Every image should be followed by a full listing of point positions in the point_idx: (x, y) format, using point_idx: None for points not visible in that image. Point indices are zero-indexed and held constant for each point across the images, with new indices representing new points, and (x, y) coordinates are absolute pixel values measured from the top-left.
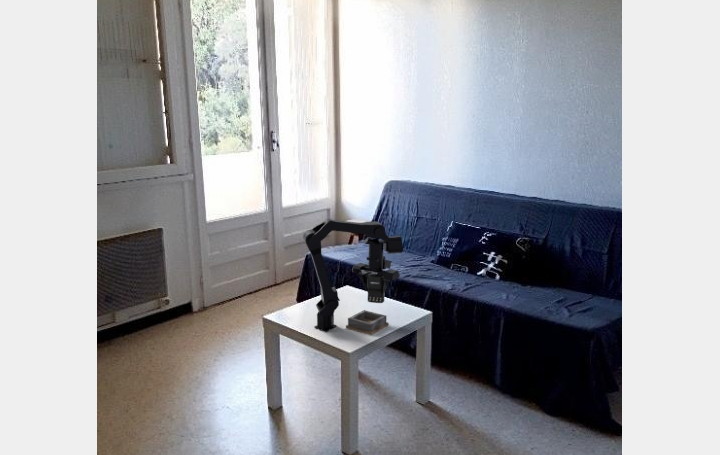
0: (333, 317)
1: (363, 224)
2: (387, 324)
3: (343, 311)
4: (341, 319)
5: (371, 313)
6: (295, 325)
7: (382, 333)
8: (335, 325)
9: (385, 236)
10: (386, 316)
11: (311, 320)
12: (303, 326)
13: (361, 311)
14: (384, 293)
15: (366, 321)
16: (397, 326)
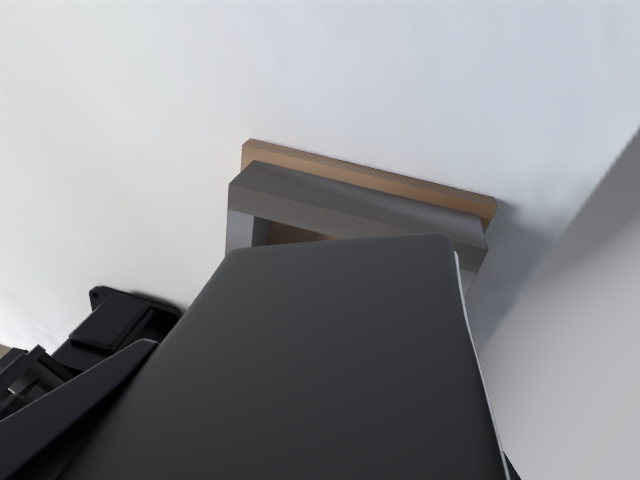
0: (127, 335)
1: None
2: (488, 216)
3: (29, 51)
4: (130, 207)
5: (327, 233)
6: (21, 337)
7: (479, 331)
8: (171, 312)
9: None
10: (486, 244)
11: (19, 270)
12: (55, 339)
13: (228, 223)
14: (472, 343)
15: (313, 235)
16: (580, 197)
